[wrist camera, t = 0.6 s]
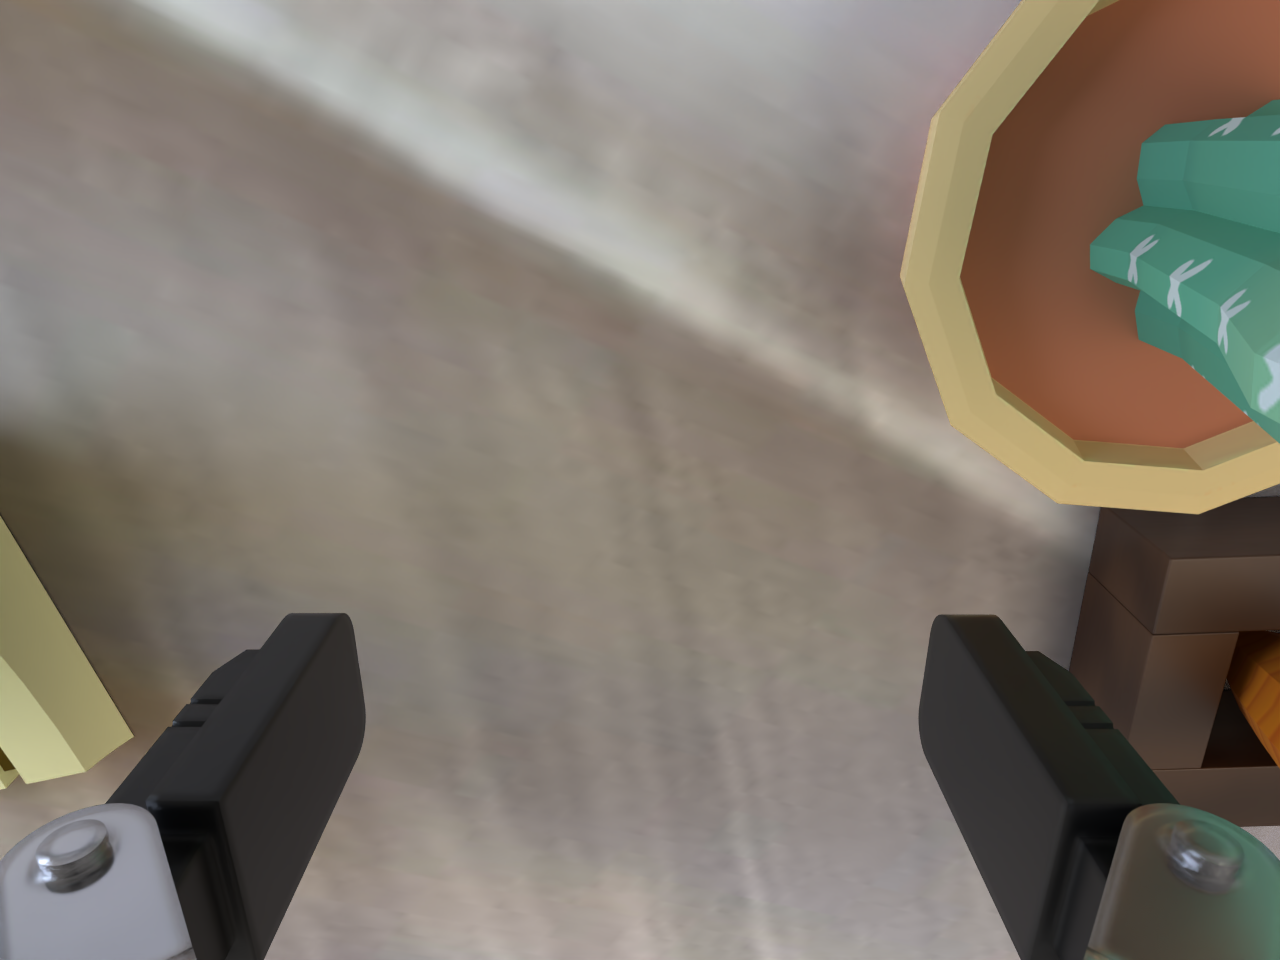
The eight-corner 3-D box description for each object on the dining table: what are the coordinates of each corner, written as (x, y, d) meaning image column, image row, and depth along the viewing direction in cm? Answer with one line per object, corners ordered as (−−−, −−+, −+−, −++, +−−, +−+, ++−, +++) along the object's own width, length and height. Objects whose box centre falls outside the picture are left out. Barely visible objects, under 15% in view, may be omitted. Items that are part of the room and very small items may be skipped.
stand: (1101, 502, 32) (1170, 558, 27) (1419, 490, 31) (1537, 545, 27) (1052, 751, 36) (1106, 831, 32) (1329, 742, 36) (1419, 822, 32)
